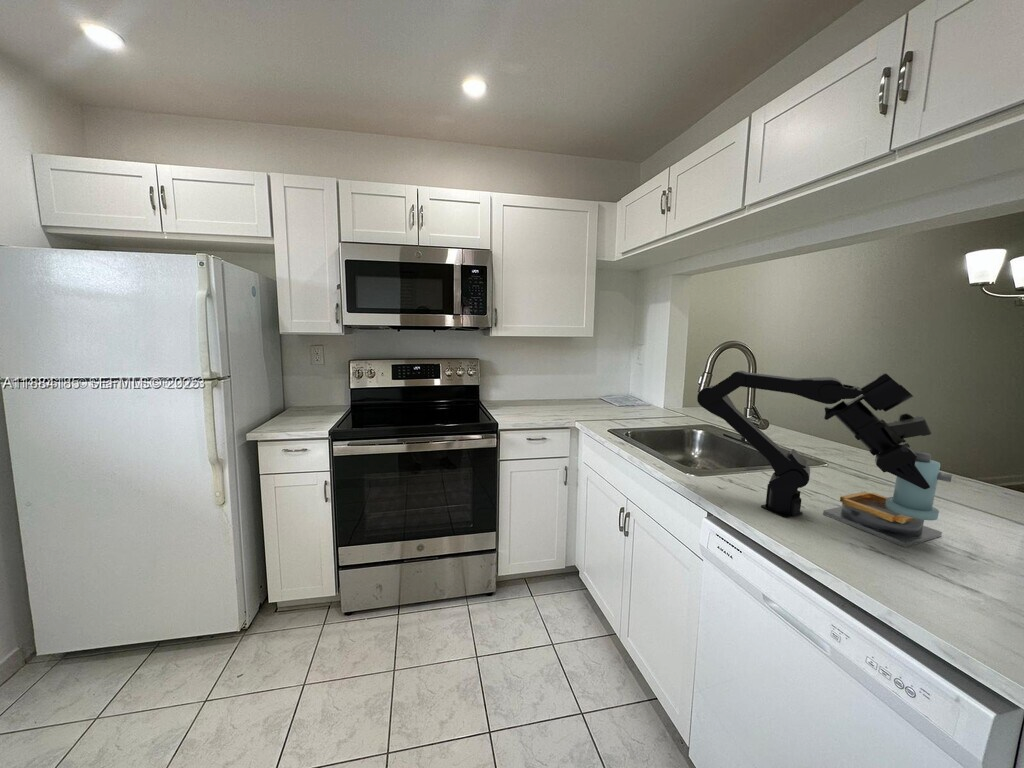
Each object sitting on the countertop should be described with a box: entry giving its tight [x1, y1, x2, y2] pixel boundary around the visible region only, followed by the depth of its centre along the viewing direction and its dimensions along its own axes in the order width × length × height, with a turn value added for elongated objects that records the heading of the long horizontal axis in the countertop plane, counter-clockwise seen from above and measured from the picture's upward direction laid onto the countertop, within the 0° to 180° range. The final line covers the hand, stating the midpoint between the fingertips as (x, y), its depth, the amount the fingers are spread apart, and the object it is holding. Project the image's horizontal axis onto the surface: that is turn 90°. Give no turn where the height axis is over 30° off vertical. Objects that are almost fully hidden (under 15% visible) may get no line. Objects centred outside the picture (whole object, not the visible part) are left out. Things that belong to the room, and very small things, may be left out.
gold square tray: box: [822, 491, 943, 548], centre depth 93 cm, size 16×14×5 cm
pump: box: [885, 450, 953, 521], centre depth 84 cm, size 9×8×13 cm
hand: (924, 483), depth 83 cm, fingers closed on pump, 6 cm apart
